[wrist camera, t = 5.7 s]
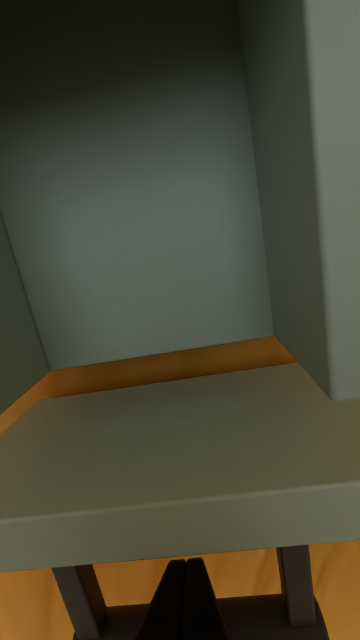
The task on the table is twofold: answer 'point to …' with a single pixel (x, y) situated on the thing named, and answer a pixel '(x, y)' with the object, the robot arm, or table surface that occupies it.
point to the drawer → (180, 290)
